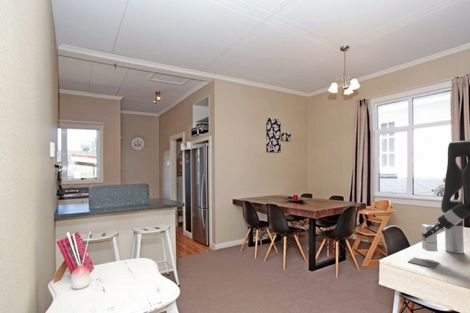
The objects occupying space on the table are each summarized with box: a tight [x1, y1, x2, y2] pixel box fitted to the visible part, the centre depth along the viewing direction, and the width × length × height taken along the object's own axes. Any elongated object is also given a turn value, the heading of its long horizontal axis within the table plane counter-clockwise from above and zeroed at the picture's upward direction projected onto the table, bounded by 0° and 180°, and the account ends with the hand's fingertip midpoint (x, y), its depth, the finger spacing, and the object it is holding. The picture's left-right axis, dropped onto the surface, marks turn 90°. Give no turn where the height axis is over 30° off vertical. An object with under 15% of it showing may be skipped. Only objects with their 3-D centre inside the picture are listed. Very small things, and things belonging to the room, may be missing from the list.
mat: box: [407, 256, 441, 269], centre depth 152 cm, size 12×12×1 cm
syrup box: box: [421, 223, 438, 253], centre depth 160 cm, size 6×6×14 cm
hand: (426, 235), depth 161 cm, fingers closed on syrup box, 8 cm apart
